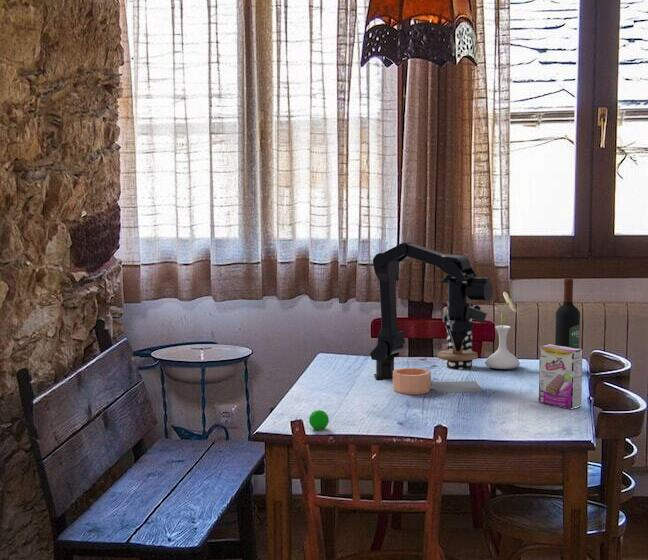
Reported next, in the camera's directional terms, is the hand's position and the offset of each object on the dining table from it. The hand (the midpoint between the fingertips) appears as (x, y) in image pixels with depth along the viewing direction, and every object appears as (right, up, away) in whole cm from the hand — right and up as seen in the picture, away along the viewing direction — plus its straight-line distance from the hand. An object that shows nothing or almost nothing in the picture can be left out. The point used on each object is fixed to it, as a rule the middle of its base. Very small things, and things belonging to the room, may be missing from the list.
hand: (457, 350), depth 305 cm
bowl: (-14, -12, -2) cm, 19 cm away
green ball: (-41, -18, -43) cm, 62 cm away
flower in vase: (+19, -8, +30) cm, 36 cm away
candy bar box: (+26, -14, -20) cm, 36 cm away
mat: (0, -12, +1) cm, 12 cm away
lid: (0, -2, 0) cm, 2 cm away
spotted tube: (+5, -8, +31) cm, 33 cm away
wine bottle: (+38, -9, +23) cm, 45 cm away
